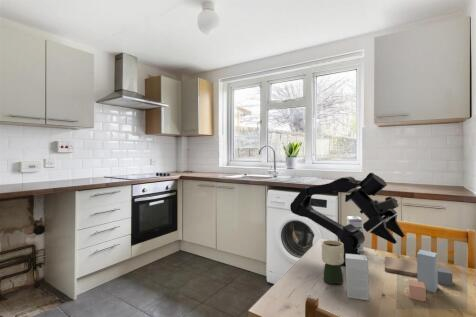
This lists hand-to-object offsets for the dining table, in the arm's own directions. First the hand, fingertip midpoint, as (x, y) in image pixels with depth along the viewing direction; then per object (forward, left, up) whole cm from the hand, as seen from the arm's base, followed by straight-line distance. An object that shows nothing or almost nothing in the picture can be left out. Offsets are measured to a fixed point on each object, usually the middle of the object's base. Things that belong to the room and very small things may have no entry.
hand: (399, 239), depth 87 cm
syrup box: (-17, +24, -14) cm, 32 cm away
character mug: (-20, -12, -14) cm, 27 cm away
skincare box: (-12, -18, -14) cm, 26 cm away
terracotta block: (+4, -10, -14) cm, 17 cm away
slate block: (+7, -2, -14) cm, 16 cm away
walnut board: (+1, +11, -14) cm, 17 cm away
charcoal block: (+12, +5, -14) cm, 19 cm away
